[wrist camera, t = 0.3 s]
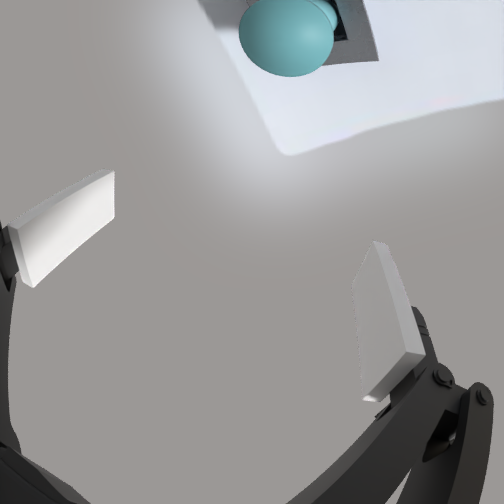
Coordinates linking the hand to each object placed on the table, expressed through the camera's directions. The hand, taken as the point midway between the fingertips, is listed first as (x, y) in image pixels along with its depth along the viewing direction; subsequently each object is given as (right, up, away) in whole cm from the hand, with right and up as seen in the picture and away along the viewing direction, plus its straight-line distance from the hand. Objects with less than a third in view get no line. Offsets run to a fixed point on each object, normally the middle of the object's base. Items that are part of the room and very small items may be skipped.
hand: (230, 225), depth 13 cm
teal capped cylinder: (+9, +28, +12) cm, 32 cm away
